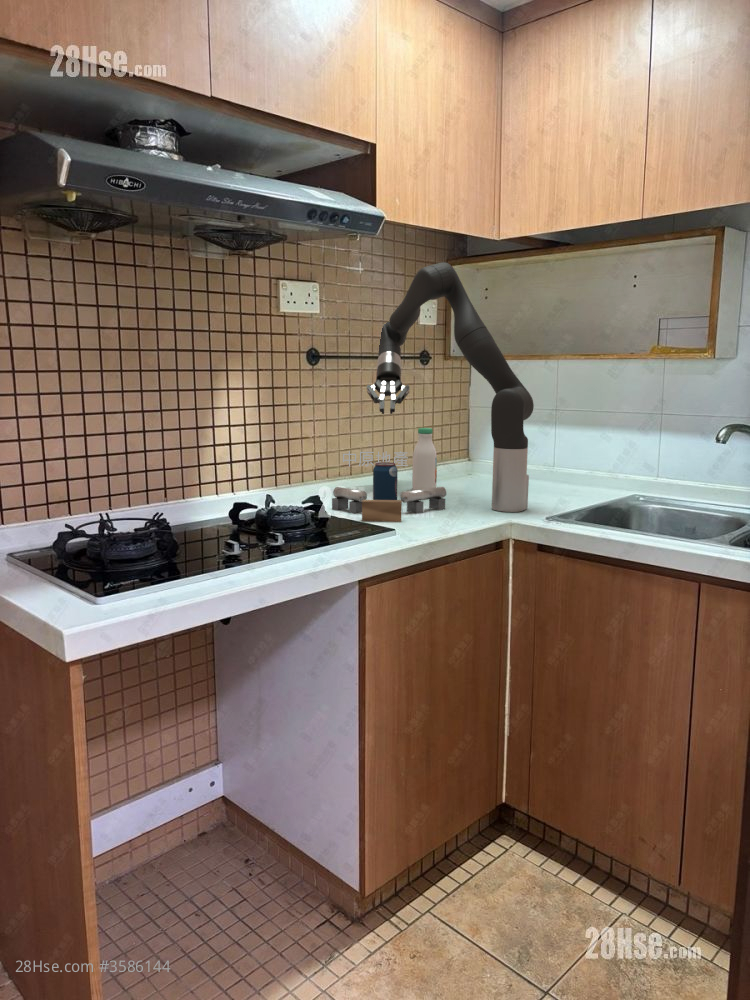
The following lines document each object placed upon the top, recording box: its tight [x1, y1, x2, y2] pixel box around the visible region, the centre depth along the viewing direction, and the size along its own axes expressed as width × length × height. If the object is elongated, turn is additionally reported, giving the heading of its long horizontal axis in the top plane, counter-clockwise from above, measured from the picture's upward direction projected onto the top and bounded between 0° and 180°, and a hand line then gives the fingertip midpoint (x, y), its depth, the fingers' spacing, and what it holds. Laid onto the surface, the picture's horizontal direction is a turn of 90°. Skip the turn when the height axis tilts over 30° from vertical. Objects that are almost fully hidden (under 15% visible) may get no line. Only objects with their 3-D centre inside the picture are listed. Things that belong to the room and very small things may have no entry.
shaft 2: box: [399, 486, 447, 514], centre depth 196 cm, size 14×4×6 cm, turn 127°
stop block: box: [361, 499, 403, 523], centre depth 183 cm, size 3×10×5 cm, turn 87°
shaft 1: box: [331, 486, 368, 514], centre depth 195 cm, size 10×4×6 cm, turn 47°
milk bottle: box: [411, 427, 438, 490], centre depth 228 cm, size 8×8×20 cm
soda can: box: [372, 461, 398, 500], centre depth 203 cm, size 7×7×12 cm
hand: (387, 411), depth 210 cm, fingers closed
